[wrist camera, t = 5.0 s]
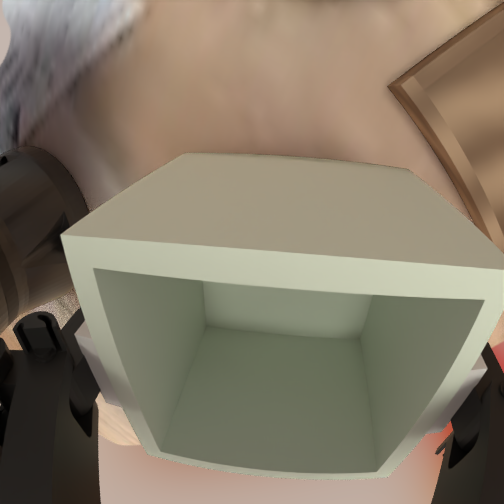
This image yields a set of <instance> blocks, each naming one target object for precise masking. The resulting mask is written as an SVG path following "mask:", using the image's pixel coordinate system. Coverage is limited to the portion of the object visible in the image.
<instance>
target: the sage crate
mask: <svg viewBox="0 0 504 504" xmlns="http://www.w3.org/2000/svg"><path fill="white" fill-rule="evenodd" d="M60 236H61V240H62V244H63V248H64V252H65V256H66V259H67V263H68V267H69V270H70V274H71V277H72V281H73V284H74V287H75V291H76V294H77V297H78V300H79V303H80V306H81V309H82V312H83V315H84V318H85V321H86V323H87V326H88V329H89V332H90V334H91V337H92V340H93V342H94V345H95V347H96V350H97V352H98V355H99V357H100V360H101V362H102V364H103V367H104V369H105V371H106V374H107V376H108V378H109V381H110V383H111V385H112V387H113V389H114V392H115V394H116V396H117V398H118V400H119V402H120V404H121V406H122V408H123V410H124V412H125V414H126V416H127V418H128V420H129V422H130V424H131V426H132V428H133V430H134V431H135V433H136V435H137V437H138V439H139V441H140V442H141V444H142V446H143V448H144V449H145V451H146V453H147V454H148V455H151V456H155V457H158V458H162V459H166V460H171V461H174V462H179V463H183V464H188V465H192V466H197V467H202V468H208V469H213V470H219V471H225V472H232V473H239V474H247V475H254V476H264V477H274V478H289V479H309V480H351V479H372V478H385V477H388V476H389V475H390V474H391V473H392V472H393V471H394V470H395V469H396V468H397V467H398V466H399V465H400V464H401V462H402V461H403V460H404V459H405V458H406V457H407V456H408V455H409V453H410V452H411V451H412V450H413V448H415V447H416V445H417V444H418V443H419V442H420V441H421V439H422V438H423V437H424V436H425V434H426V433H427V432H428V431H429V429H430V428H431V427H432V426H433V424H434V423H435V422H436V420H437V419H438V418H439V416H440V415H441V414H442V412H443V411H444V410H445V408H446V407H447V405H448V404H449V403H450V401H451V400H452V398H453V397H454V395H455V394H456V393H457V391H458V390H459V388H460V387H461V385H462V383H463V382H464V380H465V379H466V377H467V376H468V374H469V372H470V371H471V369H472V368H473V366H474V364H475V363H476V361H477V359H478V358H479V356H480V354H481V352H482V351H483V349H484V347H485V345H486V343H487V342H488V340H489V338H490V336H491V334H492V332H493V330H494V328H495V326H496V324H497V322H498V320H499V318H500V316H501V314H502V312H503V310H504V254H503V253H502V252H501V250H500V249H499V248H498V247H497V246H496V245H495V244H494V243H493V242H492V241H491V240H490V239H489V238H488V237H487V236H486V235H484V234H483V233H482V232H481V231H480V230H479V229H478V228H477V227H476V226H475V225H474V224H473V223H472V222H471V221H470V220H469V219H467V218H466V217H465V216H464V215H463V214H462V213H461V212H460V211H459V210H457V209H456V208H455V207H454V206H453V205H452V204H451V203H449V202H448V201H447V200H446V199H445V198H444V197H442V196H441V195H440V194H439V193H438V192H436V191H435V190H434V189H433V188H432V187H430V186H429V185H428V184H427V183H425V182H424V181H423V180H422V179H420V178H419V177H418V176H417V175H415V174H414V173H413V172H411V171H410V170H409V169H404V168H397V167H390V166H383V165H376V164H368V163H360V162H351V161H342V160H332V159H321V158H310V157H297V156H282V155H264V154H240V153H184V154H182V155H180V156H179V157H177V158H175V159H173V160H172V161H170V162H168V163H167V164H165V165H163V166H162V167H160V168H158V169H157V170H155V171H153V172H152V173H150V174H148V175H147V176H145V177H144V178H142V179H140V180H139V181H137V182H136V183H134V184H132V185H131V186H129V187H128V188H126V189H125V190H123V191H122V192H120V193H119V194H117V195H116V196H114V197H113V198H111V199H110V200H108V201H107V202H105V203H104V204H102V205H101V206H99V207H98V208H96V209H95V210H94V211H92V212H91V213H89V214H88V215H86V216H85V217H84V218H82V219H81V220H79V221H78V222H77V223H75V224H74V225H73V226H71V227H70V228H69V229H67V230H66V231H65V232H63V233H62V234H61V235H60Z"/></svg>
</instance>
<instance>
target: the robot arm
mask: <svg viewBox="0 0 504 504" xmlns="http://www.w3.org/2000/svg"><path fill="white" fill-rule="evenodd" d="M88 214H89V213H88V210H87V207H86V204H85V202H84V199H83V197H82V195H81V192H80V190H79V188H78V187H77V185H76V183H75V181H74V180H73V178H72V177H71V175H70V174H69V172H68V171H67V170H66V169H65V167H64V166H63V165H62V164H61V163H60V162H59V161H58V160H57V159H56V158H54V157H53V156H52V155H51V154H49V153H48V152H46V151H44V150H42V149H39V148H36V147H32V146H23V147H19V148H16V149H13V150H10V151H8V152H5V153H3V154H1V155H0V335H1V333H2V332H3V331H4V330H5V329H6V328H7V327H8V326H9V325H10V324H11V323H12V322H13V321H14V320H15V319H16V318H17V317H18V316H19V315H20V314H22V313H25V312H27V311H29V310H32V309H34V308H36V307H39V306H41V305H44V304H46V303H48V302H51V301H53V300H56V299H58V298H60V297H62V296H64V295H66V294H67V293H69V292H70V291H71V290H72V289H73V288H74V284H73V281H72V277H71V274H70V270H69V267H68V263H67V259H66V256H65V252H64V248H63V244H62V240H61V236H60V235H61V234H62V233H63V232H65V231H66V230H67V229H69V228H70V227H71V226H73V225H74V224H75V223H77V222H78V221H79V220H81V219H82V218H84V217H85V216H86V215H88ZM13 331H14V333H15V335H16V337H17V339H18V341H19V343H20V345H21V347H22V349H23V350H9V349H8V347H7V345H6V343H5V342H4V340H3V339H2V338H0V403H1V406H0V504H101V502H100V486H99V466H98V465H99V464H98V413H99V411H98V406H97V403H96V401H95V400H96V398H97V396H98V394H99V392H101V394H102V395H103V397H104V399H105V401H106V403H109V404H112V405H115V406H119V407H122V406H121V404H120V402H119V400H118V398H117V396H116V394H115V392H114V389H113V387H112V385H111V383H110V381H109V378H108V376H107V374H106V371H105V369H104V367H103V364H102V362H101V360H100V357H99V355H98V352H97V350H96V347H95V345H94V342H93V340H92V337H91V334H90V332H89V329H88V326H87V323H86V321H85V318H84V315H83V312H82V309H81V306H80V309H78V310H77V311H76V312H75V313H74V315H73V316H72V317H71V318H70V320H69V321H68V322H67V323H66V324H65V326H64V327H63V328H62V329H61V330H60V327H59V325H58V322H57V320H56V318H55V317H54V315H53V314H51V313H49V312H42V311H39V312H35V313H31V314H29V315H27V316H25V317H23V318H22V319H21V320H19V321H18V322H17V323H16V325H15V326H14V328H13ZM450 421H451V423H452V427H453V431H452V433H451V434H450V435H449V436H448V437H447V438H446V439H445V441H444V442H443V443H442V444H441V445H440V446H439V447H438V448H437V451H436V453H435V454H437V455H438V454H439V453H440V452H441V451H442V450H443V449H444V448H445V452H444V454H443V461H442V465H441V469H440V473H439V477H438V482H437V485H436V489H435V492H434V496H433V499H432V503H431V504H504V373H503V371H502V369H501V367H500V365H499V363H498V361H497V359H496V357H495V355H494V353H493V351H492V349H491V347H490V345H489V343H488V342H487V343H486V345H485V347H484V349H483V351H482V352H481V354H480V356H479V358H478V359H477V361H476V363H475V364H474V366H473V368H472V369H471V371H470V372H469V374H468V376H467V377H466V379H465V380H464V382H463V383H462V385H461V387H460V388H459V390H458V391H457V393H456V394H455V395H454V397H453V398H452V400H451V401H450V403H449V404H448V405H447V407H446V408H445V410H444V411H443V412H442V414H441V415H440V416H439V418H438V419H437V420H436V422H435V423H434V424H433V426H432V427H431V428H430V429H429V431H428V432H427V433H426V434H428V433H437V432H441V431H442V430H443V429H444V428H445V427H446V426H447V424H448V423H449V422H450Z"/></svg>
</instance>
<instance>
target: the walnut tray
mask: <svg viewBox="0 0 504 504" xmlns="http://www.w3.org/2000/svg"><path fill="white" fill-rule="evenodd" d="M387 87H388V88H389V89H390V90H391V92H392V93H393V94H394V95H395V97H396V98H397V99H398V101H399V102H400V103H401V104H402V106H403V107H404V108H405V110H406V111H407V113H408V114H409V115H410V117H411V118H412V119H413V121H414V122H415V124H416V125H417V126H418V128H419V129H420V131H421V132H422V134H423V135H424V137H425V138H426V140H427V141H428V143H429V144H430V146H431V147H432V149H433V150H434V152H435V154H436V155H437V157H438V158H439V160H440V162H441V163H442V165H443V166H444V168H445V170H446V172H447V173H448V175H449V177H450V178H451V180H452V182H453V184H454V185H455V187H456V189H457V191H458V193H459V194H460V196H461V198H462V200H463V202H464V204H465V206H466V208H467V210H468V212H469V214H470V215H471V218H472V220H473V222H474V224H475V226H476V227H477V228H478V229H479V230H480V231H481V232H482V233H483V234H484V235H486V236H487V237H488V238H489V239H490V240H491V241H492V242H493V243H494V244H495V245H496V246H497V247H498V248H499V249H500V250H501V252H502V253H503V254H504V2H503V3H502V4H500V5H499V6H497V7H496V8H494V9H493V10H491V11H490V12H488V13H487V14H485V15H484V16H482V17H481V18H480V19H478V20H477V21H475V22H474V23H472V24H471V25H470V26H468V27H467V28H465V29H464V30H462V31H461V32H460V33H458V34H457V35H455V36H454V37H453V38H451V39H450V40H449V41H447V42H446V43H444V44H443V45H442V46H440V47H439V48H438V49H436V50H435V51H434V52H432V53H431V54H429V55H428V56H427V57H425V58H424V59H423V60H421V61H420V62H419V63H417V64H416V65H415V66H413V67H412V68H411V69H409V70H408V71H407V72H406V73H404V74H403V75H402V76H400V77H399V78H398V79H396V80H395V81H394V82H393V83H391V84H390V85H389V86H387Z"/></svg>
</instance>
